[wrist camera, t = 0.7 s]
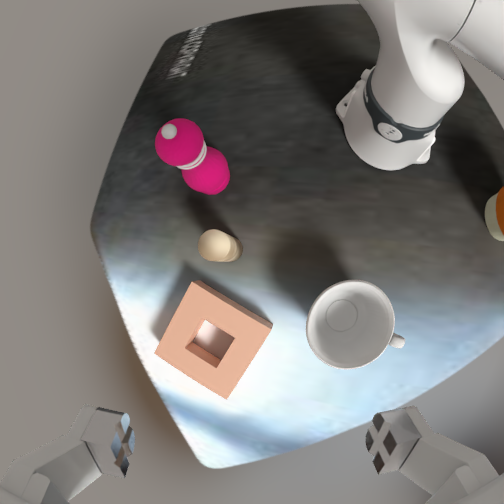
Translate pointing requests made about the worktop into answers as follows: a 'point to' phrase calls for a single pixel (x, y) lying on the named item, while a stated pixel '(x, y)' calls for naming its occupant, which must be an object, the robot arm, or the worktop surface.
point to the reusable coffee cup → (495, 215)
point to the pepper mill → (192, 156)
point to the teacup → (351, 325)
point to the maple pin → (219, 246)
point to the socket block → (225, 318)
